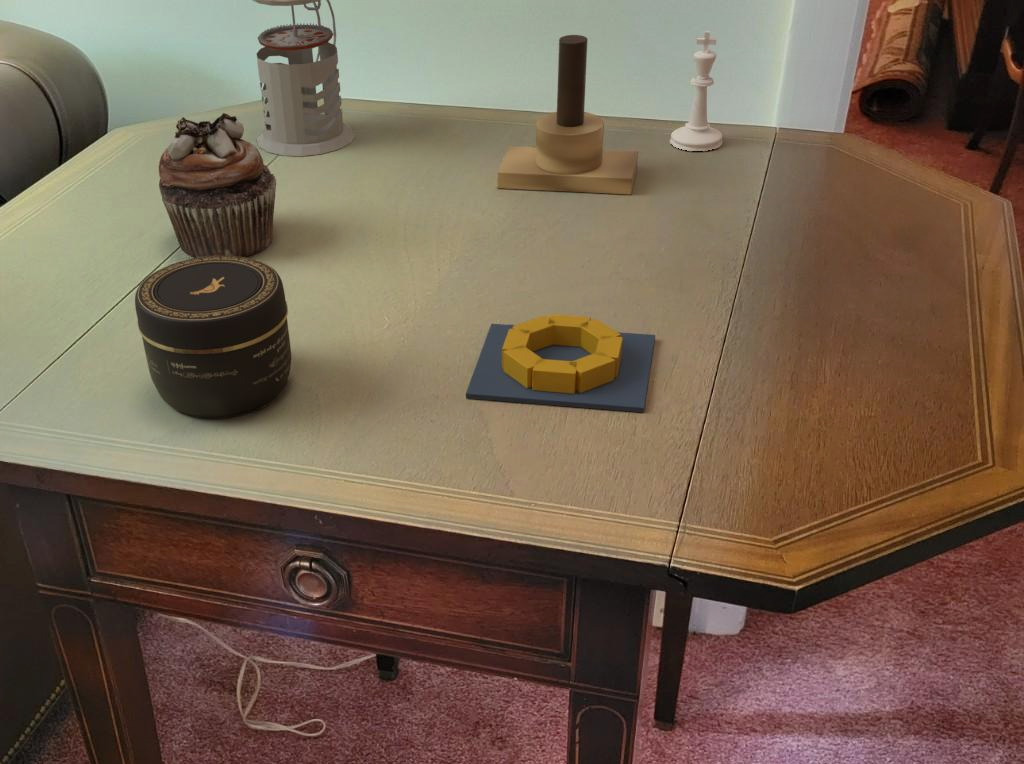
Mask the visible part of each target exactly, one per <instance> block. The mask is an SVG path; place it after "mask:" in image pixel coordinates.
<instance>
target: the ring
mask: <svg viewBox="0 0 1024 764" xmlns="http://www.w3.org/2000/svg"><path fill="white" fill-rule="evenodd" d="M591 318H592V317H591V316H583V315H582V316H580V315H568V314H555V313H554V314H553V313H551V314H550V315H549V316H547V315H545V314H544V315H541V316H539V317H536V318H532V319H531V320H527V321H524V322H520V323H519V324H514V325H515V326H513V329H509V331H508V334H507V337H506V339H505V342H504V345H503V348H502V368H503V371H504V372H505V373H506V374H508V375H509V376H511V377H512V378H513V379H515V380H516V381H517V382H519V383H520V384H522V385H523V386H524V387H526V388H531V387H532V390H535V391H547V392H559V393H570V394H574V393H575V390H576V391H578V392H579V393H582V392H585V391H587V390H590V389H593V388H595V387H598V386H600V385H603V384H606V383H608V382H611V381H613V380H614V378H617V375H618V370H619V366H620V361H621V356H622V342H623V337H621V334H619V333H618V331H616V330H615V329H613V328H612V327H610V326H608V325H606V324H605V323H603V322H602V321H600V320H598V319H597V318H593V319H591ZM550 345H561V346H574V347H582V348H583V349H585V350H586V351H588V352H589V353H591V355H588V356H585V357H583V358H580V359H577V360H575V361H561V360H548V359H542V358H541V357H539V356H538V355H536V354H535V353H533V351H536V350H539V349H542V348H545V347H547V346H550Z"/></svg>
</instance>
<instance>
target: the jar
mask: <svg viewBox="0 0 1024 764" xmlns="http://www.w3.org/2000/svg"><path fill="white" fill-rule="evenodd" d="M136 289H137V290H136V292H135V296H134V305H135V313H136V318H137V327H138V331H139V334H140V335H141V338H142V343H143V347H144V353H145V357H146V362H147V367H148V371H149V375H150V378H151V381H152V383H153V385H154V387H155V389H156V391H157V393H158V394H159V396H160V398H161V399H162V400H163V402H165V403H166V404H167V405H168V406H170V407H171V408H172V409H174V410H176V411H177V412H179V413H181V414H184V415H186V416H191V417H195V418H199V419H200V418H201V419H226V418H234V417H238V416H242V415H247V414H250V413H252V412H255V411H258V410H260V409H262V408H264V407H266V406H268V405H269V404H270V403H272V402H273V401H274V400H276V399H277V398H278V397H279V395H280V394H281V393H282V391H284V389H285V388H286V386H287V384H288V381H289V378H290V372H291V366H292V348H291V340H290V332H289V331H290V330H289V323H288V316H289V308H288V303H287V300H286V294H285V288H284V284H283V281H282V277H281V275H280V274H279V273H278V271H276V270H275V269H274V268H273V267H272V266H270V265H268V264H267V263H264V262H262V261H260V260H257V259H254V258H249V257H238V256H207V257H199V258H195V257H192V258H189V259H184V260H180V261H177V262H174V263H172V264H168V265H167V266H164V267H162V268H159V269H158V270H156V271H154V272H152V273H151V274H149V275H148V276H147V277H146V278H144V280H143V281H142V282H141V283H140V284H139V286H138V287H137V288H136Z"/></svg>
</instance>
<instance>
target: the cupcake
mask: <svg viewBox="0 0 1024 764" xmlns="http://www.w3.org/2000/svg"><path fill="white" fill-rule="evenodd" d="M175 128H176V129H177V131H175V133H174V134H175V135H174V137H173V138H172V140H171V142H169V144H168V146H167V148H165V150H164V151H163V152H162V154H161V156H160V159H159V162H158V176H159V182H158V188H159V192H160V195H161V201H162V204H163V205H164V208H165V210H166V212H167V215H168V217H169V220H170V223H171V225H172V229H173V231H174V234H175V236H176V240H177V242H178V245H179V247H180V249H181V251H182V252H184V253H185V254H186V255H188V256H189V257H191V258H199V257H207V256H238V257H245V258H248V257H251V256H253V255H255V254H258V253H260V252H262V251H263V250H264V249H267V248H268V246H269V245H270V243H272V242H273V238H274V237H273V236H274V234H273V233H274V217H275V203H276V201H275V200H276V191H277V179H276V175H274V173H271V172H272V171H270V169H269V167H268V166H267V165H265V164H264V158H263V156H262V155H261V152H260V151H259V149H258V148H257V147H256V146H255V145H254V144H253V143H251V142H249V141H247V140H246V139H242V138H243V135H244V132H245V127H244V124H243V123H242V122H240V121H239V120H238V118H237V116H236V115H235V116H234V115H233V116H231V115H229V114H228V113H226V112H223V113H222V114H221V115H220V116H219V117H217V118H216V119H215V120H214V121H213V122H212V123H211V121H210V120H204V121H199V122H196V121H192V120H191V119H186V118H185V117H184V116H182V118H181V119H180V120H177V124H176V126H175Z"/></svg>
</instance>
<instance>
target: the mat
mask: <svg viewBox="0 0 1024 764" xmlns="http://www.w3.org/2000/svg"><path fill="white" fill-rule="evenodd" d="M515 325H516V324H505V323H503V324H501V323H490V326H489V329H488V331H487V335H486V337H485V340H484V343H483V345H482V348H481V351H480V353H479V356H478V359H477V361H476V365H475V367H474V370H473V373H472V376H471V378H470V381H469V384H468V386H467V389H466V392H465V398H466V399H469V400H471V399H473V400H481V401H482V400H483V401H484V400H485V401H493V402H494V401H495V402H497V401H498V402H506V403H507V402H508V403H520V404H523V403H524V404H531V405H532V404H533V405H545V406H556V407H558V406H559V407H571V408H582V409H583V408H584V409H594V410H606V411H621V412H633V413H645V406H646V400H647V394H648V389H649V381H650V374H651V369H652V363H653V362H652V361H653V355H654V348H655V342H656V334H651V333H650V334H648V333H633V332H618V331H617V332H618V333H619V334H621V337H623V342H622V356H621V361H620V366H619V370H618V375H617V378H614V380H613V381H611V382H608V383H606V384H603V385H600V386H598V387H595V388H593V389H590V390H587V391H585V392H582V393H579V392H578V391H576V390H575V393H574V394H570V393H559V392H547V391H535V390H532V387H531V388H526V387H524V386H523V385H522V384H520V383H519V382H517V381H516V380H515V379H513V378H512V377H511V376H509V375H508V374H506V373H505V372H504V371H503V368H502V348H503V345H504V342H505V339H506V337H507V334H508V331H509V329H513V326H515ZM533 353H535V354H536V355H538V356H539V357H541V358H542V359H548V360H561V361H575V360H577V359H580V358H583V357H585V356H588V355H591V353H589V352H588V351H586V350H585V349H583V348H582V347H574V346H561V345H550V346H547V347H545V348H542V349H539V350H536V351H533Z"/></svg>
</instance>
